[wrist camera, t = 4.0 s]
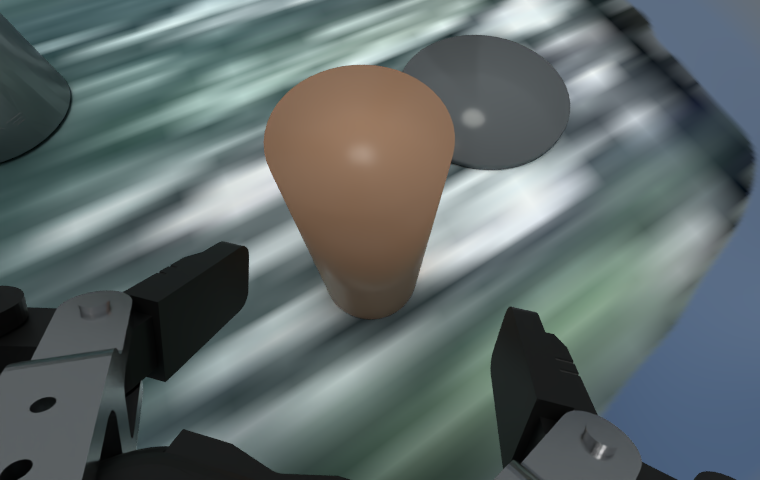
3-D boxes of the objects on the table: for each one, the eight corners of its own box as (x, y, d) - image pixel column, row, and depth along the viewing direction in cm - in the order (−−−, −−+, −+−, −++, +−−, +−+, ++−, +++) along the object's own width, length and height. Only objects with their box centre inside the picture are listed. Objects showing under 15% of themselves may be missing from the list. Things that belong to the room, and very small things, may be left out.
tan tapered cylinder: (308, 264, 21) (229, 117, 10) (380, 217, 22) (380, 41, 11) (359, 338, 19) (332, 257, 9) (435, 283, 21) (495, 149, 10)
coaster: (364, 86, 27) (363, 80, 26) (485, 21, 30) (487, 14, 29) (475, 201, 23) (477, 196, 22) (602, 113, 26) (607, 107, 25)
